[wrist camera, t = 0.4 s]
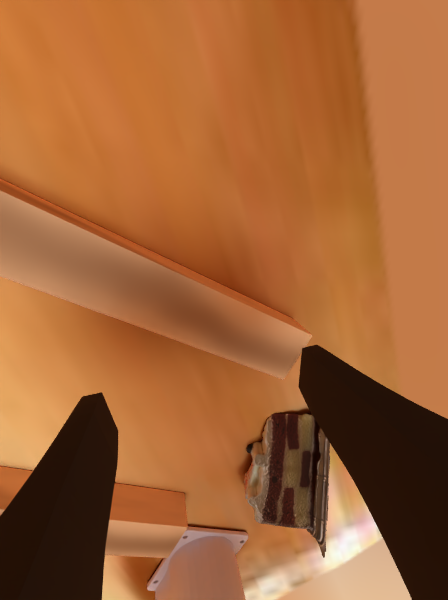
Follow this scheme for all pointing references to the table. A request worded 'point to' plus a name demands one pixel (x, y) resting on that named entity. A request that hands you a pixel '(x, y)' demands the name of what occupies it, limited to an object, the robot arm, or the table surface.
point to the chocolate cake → (290, 475)
